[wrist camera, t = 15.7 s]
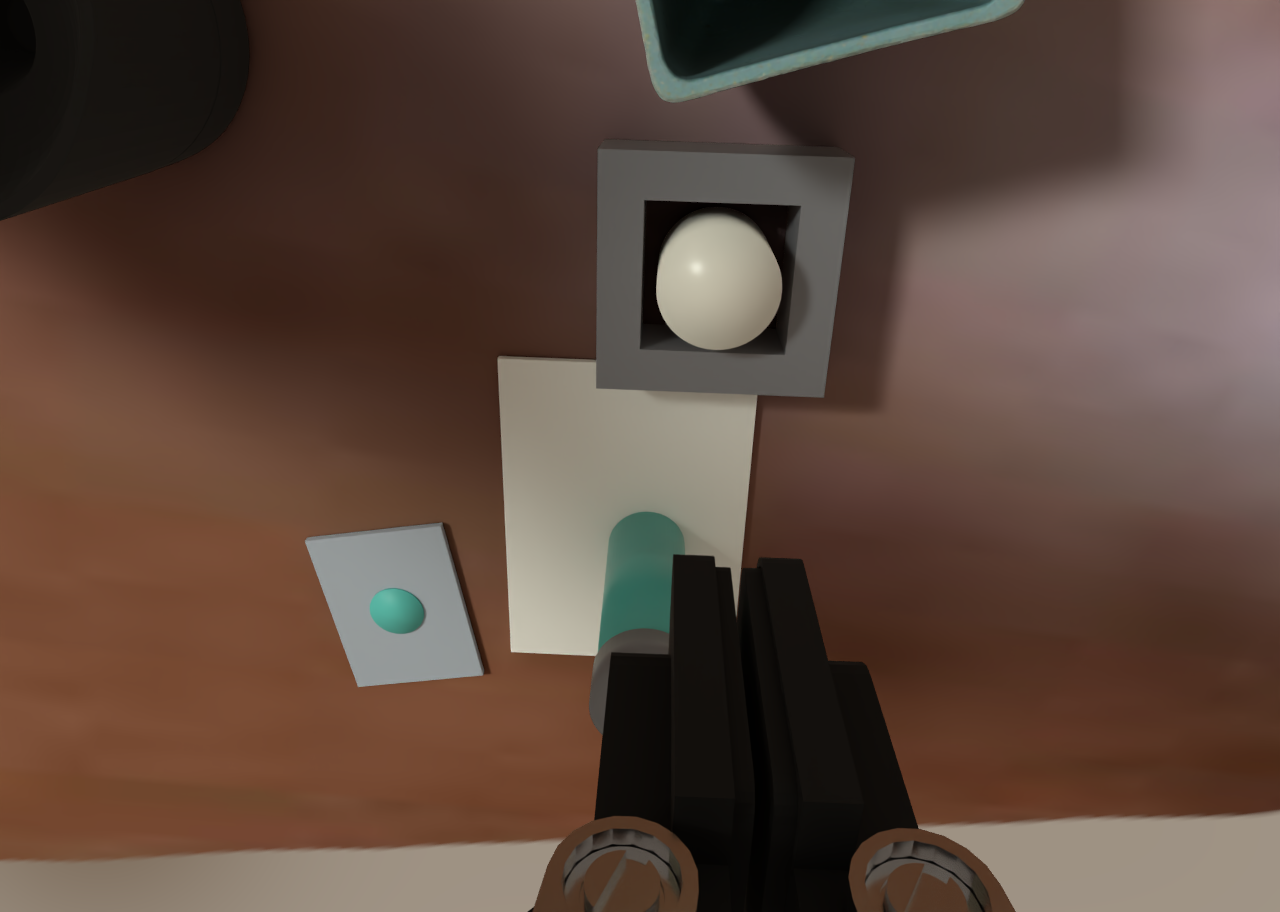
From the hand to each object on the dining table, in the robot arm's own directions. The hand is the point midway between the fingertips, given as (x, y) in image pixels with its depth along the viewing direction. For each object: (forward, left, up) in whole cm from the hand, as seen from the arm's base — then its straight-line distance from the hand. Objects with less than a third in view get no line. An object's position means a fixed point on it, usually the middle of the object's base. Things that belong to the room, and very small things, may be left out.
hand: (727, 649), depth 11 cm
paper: (+11, -2, -22) cm, 25 cm away
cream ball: (0, +1, -21) cm, 21 cm away
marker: (+12, -1, -22) cm, 25 cm away
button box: (0, +1, -22) cm, 22 cm away
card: (+16, -12, -22) cm, 30 cm away
